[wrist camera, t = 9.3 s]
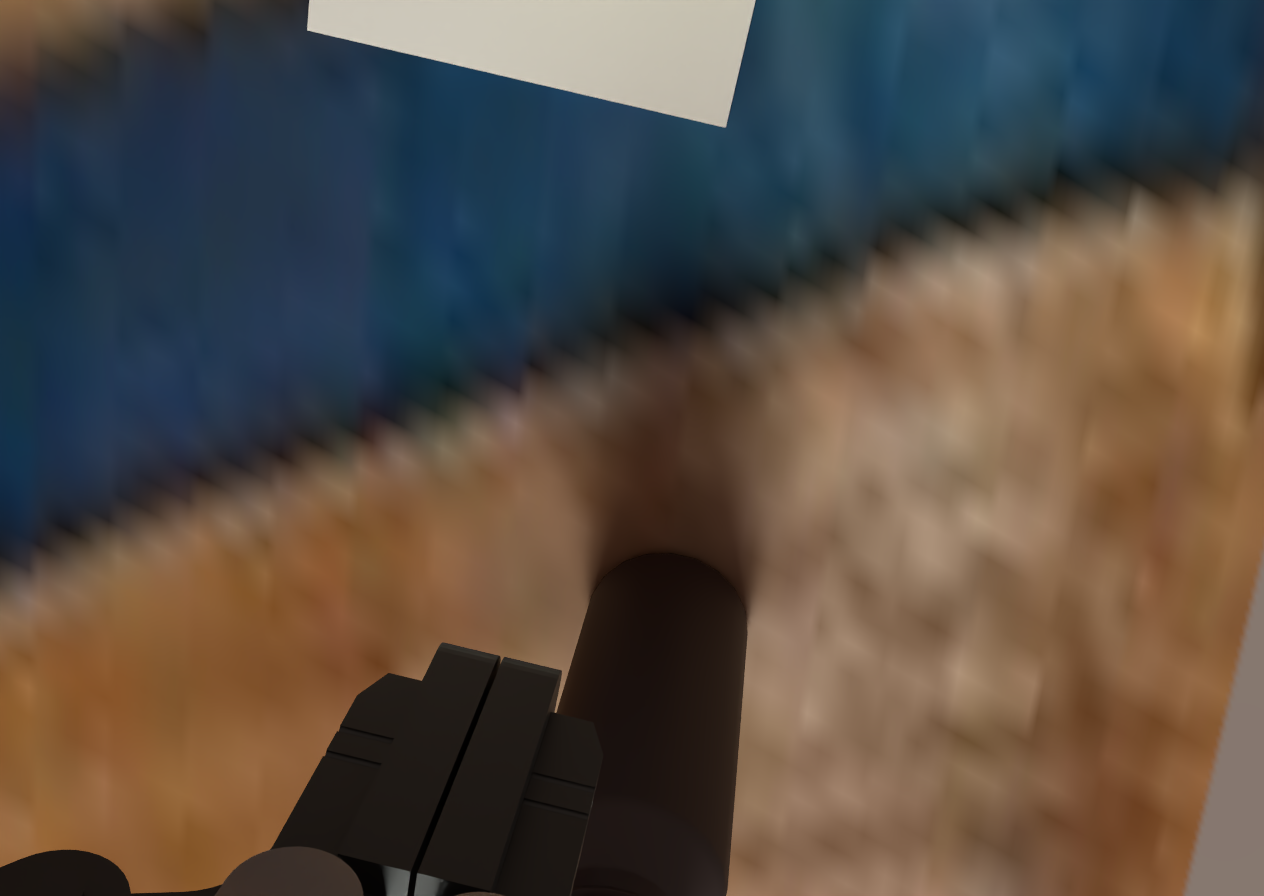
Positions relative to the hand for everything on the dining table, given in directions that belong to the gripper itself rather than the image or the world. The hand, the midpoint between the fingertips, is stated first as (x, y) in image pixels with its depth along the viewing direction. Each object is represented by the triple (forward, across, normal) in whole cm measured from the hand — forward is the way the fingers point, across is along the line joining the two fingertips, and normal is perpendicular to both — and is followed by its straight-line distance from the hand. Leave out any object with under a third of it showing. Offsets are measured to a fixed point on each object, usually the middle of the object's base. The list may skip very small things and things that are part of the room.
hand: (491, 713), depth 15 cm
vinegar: (+31, -3, +19) cm, 37 cm away
